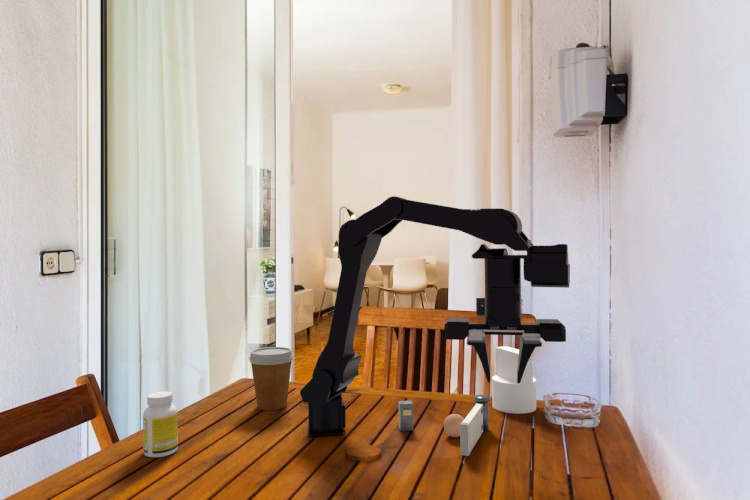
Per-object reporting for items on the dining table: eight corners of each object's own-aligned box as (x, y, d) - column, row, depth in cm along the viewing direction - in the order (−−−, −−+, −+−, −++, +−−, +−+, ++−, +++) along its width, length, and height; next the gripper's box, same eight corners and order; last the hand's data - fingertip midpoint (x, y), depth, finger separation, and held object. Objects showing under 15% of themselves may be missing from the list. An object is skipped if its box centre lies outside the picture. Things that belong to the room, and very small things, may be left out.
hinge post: (476, 432, 97) (476, 399, 97) (471, 426, 100) (471, 395, 100) (492, 431, 98) (492, 398, 98) (487, 425, 101) (486, 394, 101)
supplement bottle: (184, 448, 92) (183, 391, 92) (162, 460, 87) (161, 400, 87) (159, 444, 94) (158, 389, 93) (136, 456, 88) (135, 397, 88)
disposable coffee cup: (258, 399, 120) (258, 346, 120) (299, 400, 119) (298, 346, 119) (242, 412, 111) (241, 355, 111) (286, 413, 110) (285, 355, 110)
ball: (447, 441, 93) (446, 418, 93) (441, 433, 97) (441, 411, 97) (469, 439, 94) (468, 417, 94) (462, 432, 98) (462, 410, 98)
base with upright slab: (483, 403, 115) (483, 348, 115) (517, 398, 118) (517, 344, 118) (510, 416, 106) (509, 356, 106) (545, 409, 110) (545, 352, 110)
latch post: (400, 431, 98) (400, 404, 98) (398, 427, 101) (398, 401, 101) (413, 431, 98) (413, 404, 98) (411, 426, 101) (410, 400, 101)
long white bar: (476, 430, 97) (476, 403, 97) (483, 431, 97) (483, 404, 97) (460, 454, 86) (460, 424, 86) (468, 456, 86) (468, 425, 86)
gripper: (555, 282, 92) (556, 372, 93) (447, 282, 96) (448, 368, 96) (566, 288, 82) (566, 389, 82) (443, 287, 85) (444, 385, 85)
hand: (503, 382), depth 87 cm, fingers open, 4 cm apart
